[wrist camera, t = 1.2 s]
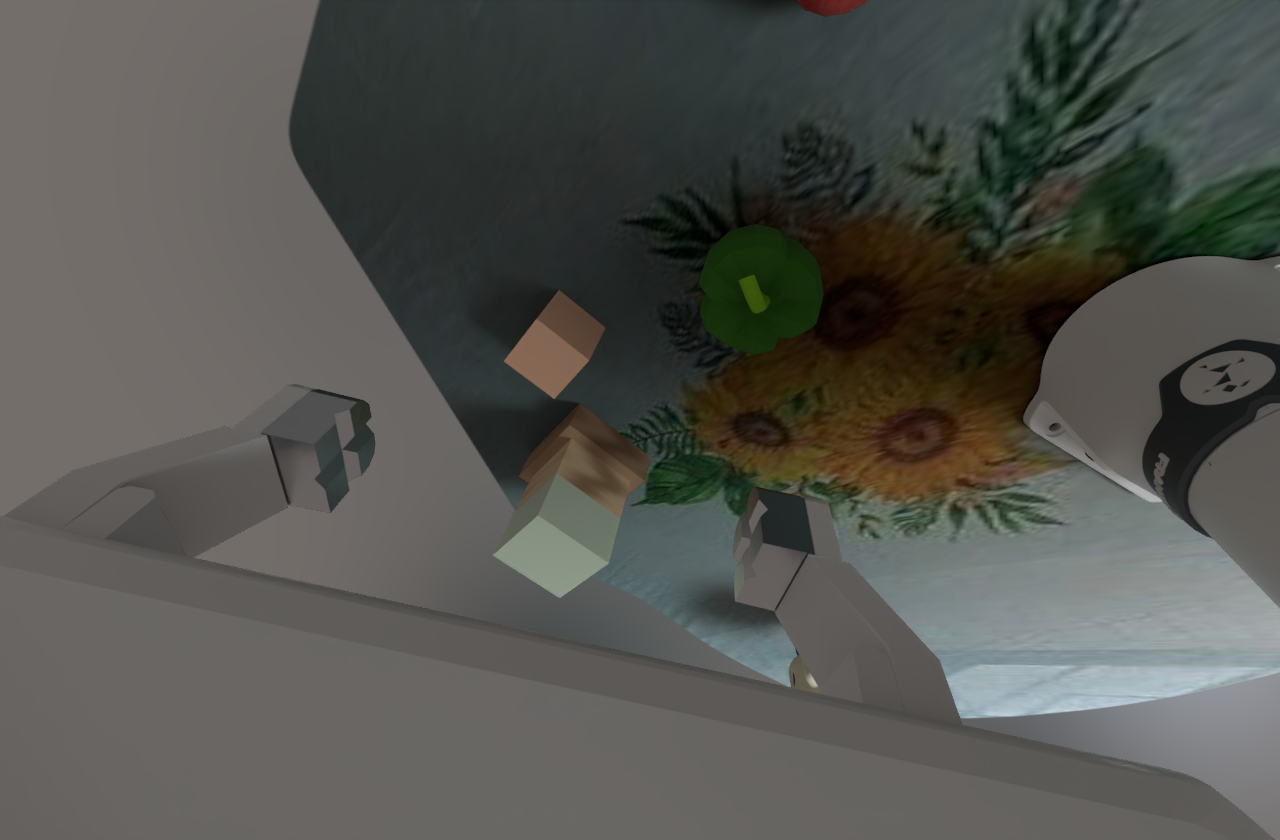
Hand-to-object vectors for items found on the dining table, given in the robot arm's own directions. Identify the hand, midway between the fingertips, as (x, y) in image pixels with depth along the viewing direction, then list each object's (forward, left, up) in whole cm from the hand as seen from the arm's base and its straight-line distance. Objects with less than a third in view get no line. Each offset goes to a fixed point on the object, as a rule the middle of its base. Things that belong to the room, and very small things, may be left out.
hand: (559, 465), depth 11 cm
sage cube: (-10, +26, -24) cm, 37 cm away
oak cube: (-10, +26, -29) cm, 41 cm away
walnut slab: (-10, +26, -33) cm, 44 cm away
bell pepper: (-8, +1, -33) cm, 34 cm away
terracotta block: (0, +16, -33) cm, 37 cm away
